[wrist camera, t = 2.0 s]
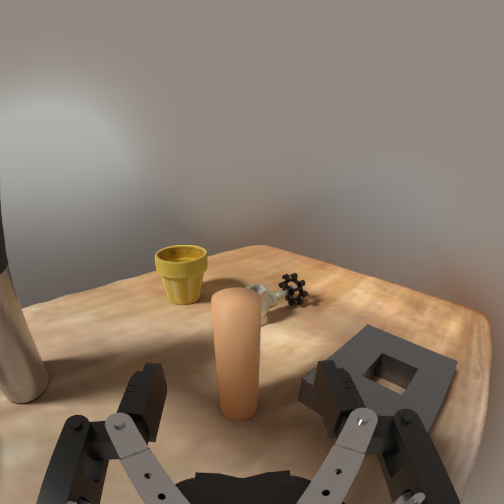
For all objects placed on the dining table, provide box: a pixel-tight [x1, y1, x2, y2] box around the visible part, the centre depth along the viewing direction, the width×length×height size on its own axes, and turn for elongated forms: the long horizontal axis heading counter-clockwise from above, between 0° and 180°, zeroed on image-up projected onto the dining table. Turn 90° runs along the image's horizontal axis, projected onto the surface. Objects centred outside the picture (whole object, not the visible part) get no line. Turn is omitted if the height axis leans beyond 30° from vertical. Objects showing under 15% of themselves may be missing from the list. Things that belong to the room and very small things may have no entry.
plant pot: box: [155, 245, 207, 305], centre depth 53 cm, size 10×10×10 cm
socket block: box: [298, 324, 458, 433], centre depth 28 cm, size 16×16×4 cm
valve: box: [246, 273, 308, 326], centre depth 49 cm, size 7×7×12 cm
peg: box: [211, 287, 262, 420], centre depth 26 cm, size 4×4×15 cm
